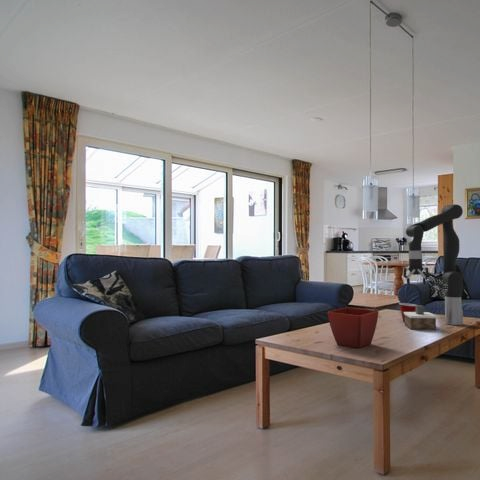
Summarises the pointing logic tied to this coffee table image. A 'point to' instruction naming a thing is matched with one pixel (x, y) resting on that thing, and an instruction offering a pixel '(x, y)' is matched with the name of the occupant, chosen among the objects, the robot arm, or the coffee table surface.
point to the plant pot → (353, 326)
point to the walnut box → (420, 323)
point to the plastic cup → (406, 309)
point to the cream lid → (419, 313)
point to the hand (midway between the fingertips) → (416, 284)
